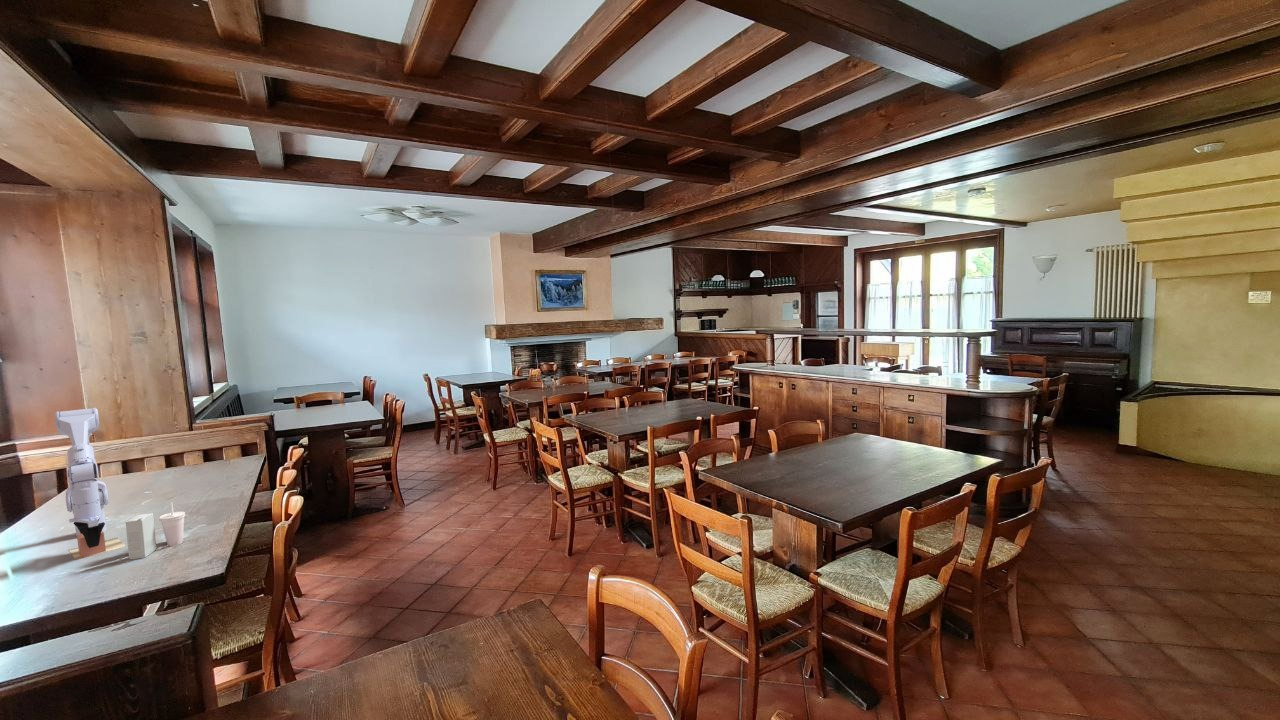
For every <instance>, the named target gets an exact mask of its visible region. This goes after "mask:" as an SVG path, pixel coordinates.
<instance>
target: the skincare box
mask: <svg viewBox="0 0 1280 720" xmlns="http://www.w3.org/2000/svg"><path fill="white" fill-rule="evenodd" d="M154 518H155V517H154V513H152V512H151V513H142V514H137V515H136V516H133V517H132V518H130V519H129V520H127V521H125V528H126V529H125V530H126V531H125V532H126V540H127V541H126V542H127V552H128V559H129V560H138V559H142V558H143V559H144V558H147V557H148V556H149V555H151V554H152V553H154V552H155V551H156V550H157V549H158V548H157V540H156V529H155V520H154Z"/></svg>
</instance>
